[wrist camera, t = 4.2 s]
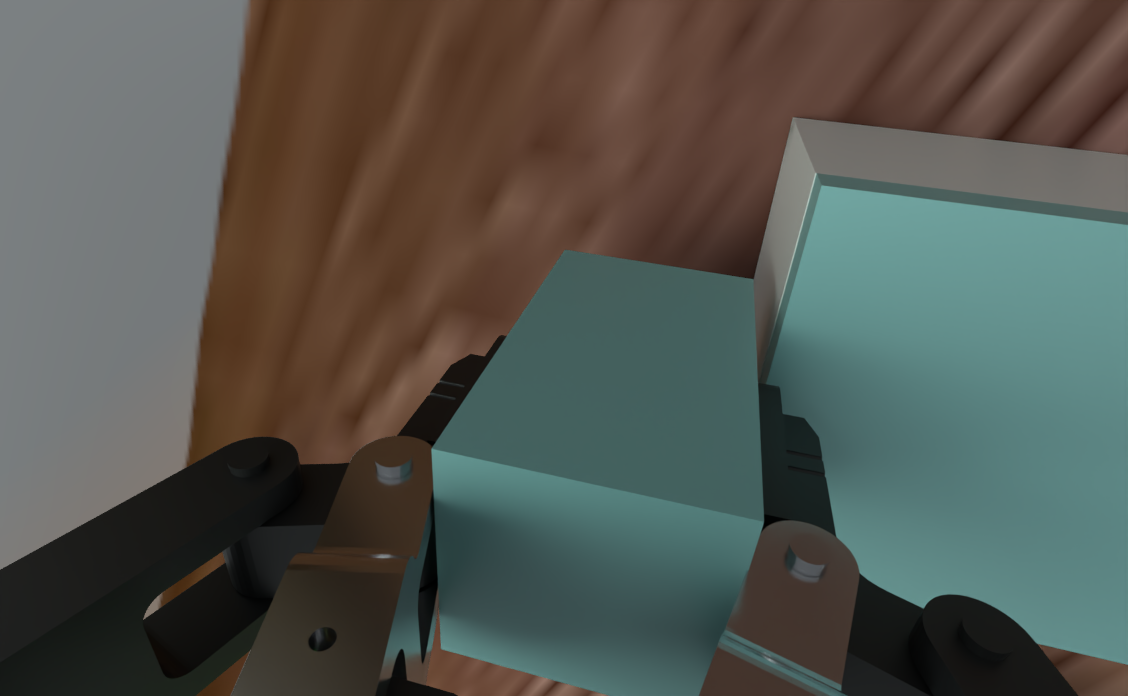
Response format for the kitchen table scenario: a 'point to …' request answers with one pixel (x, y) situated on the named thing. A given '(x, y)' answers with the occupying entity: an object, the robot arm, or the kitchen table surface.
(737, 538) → the lid
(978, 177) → the tub
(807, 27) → the kitchen table surface
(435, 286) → the kitchen table surface
